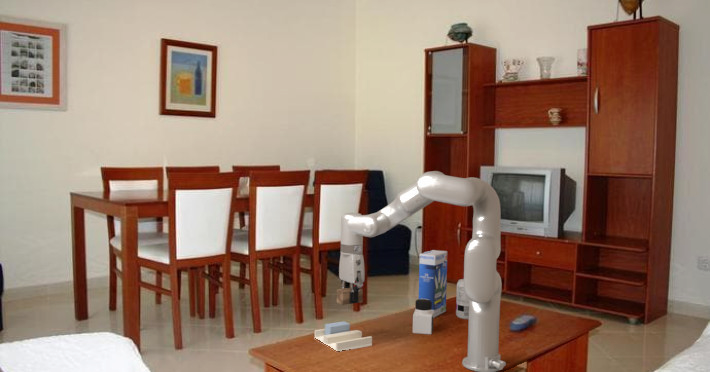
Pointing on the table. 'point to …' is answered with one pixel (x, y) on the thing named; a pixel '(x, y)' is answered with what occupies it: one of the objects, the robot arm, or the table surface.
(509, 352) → the table surface
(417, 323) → the medicine bottle
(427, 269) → the string lights box
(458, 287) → the supplement can
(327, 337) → the slot board
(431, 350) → the table surface
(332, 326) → the slate bar
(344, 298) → the walnut bar
